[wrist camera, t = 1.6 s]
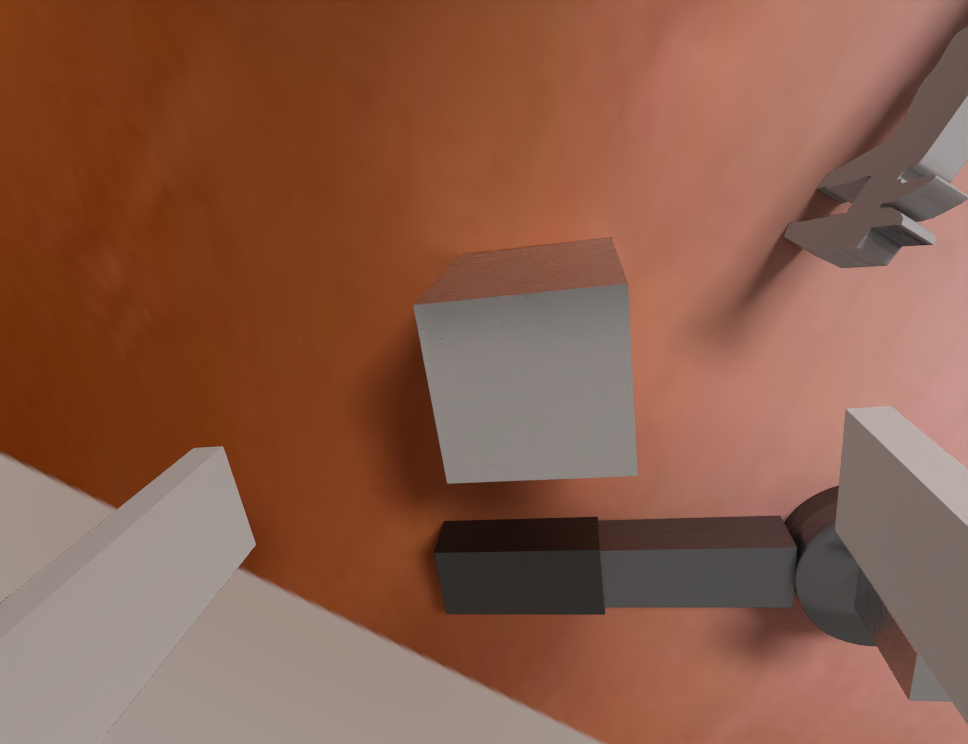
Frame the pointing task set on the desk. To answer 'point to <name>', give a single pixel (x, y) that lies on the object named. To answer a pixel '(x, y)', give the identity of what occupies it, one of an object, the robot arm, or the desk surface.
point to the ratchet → (677, 573)
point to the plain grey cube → (531, 364)
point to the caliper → (898, 176)
